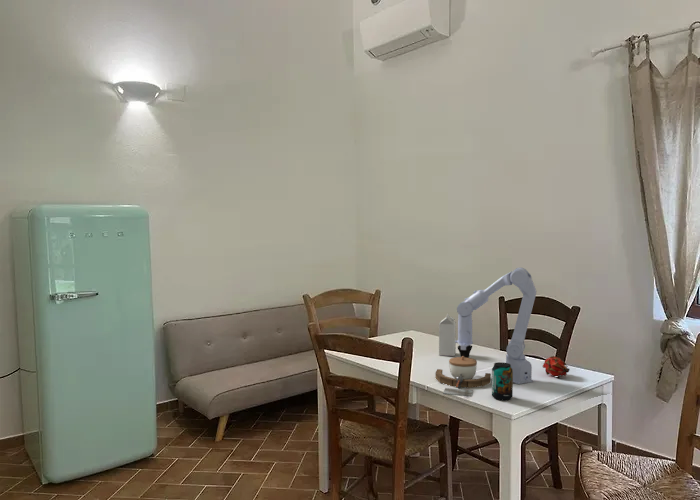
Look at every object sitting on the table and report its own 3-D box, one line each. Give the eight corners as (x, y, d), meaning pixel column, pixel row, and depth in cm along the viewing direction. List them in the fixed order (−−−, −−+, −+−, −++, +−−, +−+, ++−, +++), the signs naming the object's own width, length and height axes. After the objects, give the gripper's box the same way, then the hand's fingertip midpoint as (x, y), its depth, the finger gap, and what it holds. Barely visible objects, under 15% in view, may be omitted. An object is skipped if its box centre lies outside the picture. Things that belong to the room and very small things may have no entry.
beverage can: (511, 402, 180) (511, 367, 179) (490, 399, 183) (491, 366, 182) (513, 396, 187) (513, 362, 186) (493, 393, 189) (493, 361, 189)
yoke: (437, 375, 213) (437, 369, 213) (490, 379, 206) (490, 373, 206) (428, 392, 191) (428, 385, 191) (487, 397, 185) (487, 390, 185)
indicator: (458, 377, 202) (458, 372, 202) (464, 377, 201) (464, 372, 201) (453, 388, 188) (453, 383, 188) (460, 389, 187) (460, 383, 187)
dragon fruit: (546, 375, 217) (565, 387, 206) (533, 365, 215) (552, 377, 203) (558, 358, 218) (578, 370, 206) (545, 348, 215) (565, 359, 203)
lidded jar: (477, 377, 210) (477, 353, 210) (476, 384, 200) (476, 360, 199) (450, 375, 213) (450, 352, 213) (447, 382, 203) (447, 358, 202)
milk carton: (438, 355, 244) (438, 315, 243) (440, 352, 251) (440, 312, 250) (454, 356, 242) (454, 316, 241) (455, 353, 249) (455, 313, 248)
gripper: (457, 326, 221) (456, 358, 222) (453, 333, 207) (452, 367, 208) (474, 327, 219) (473, 359, 220) (471, 334, 205) (471, 368, 206)
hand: (464, 363), depth 214 cm, fingers closed
